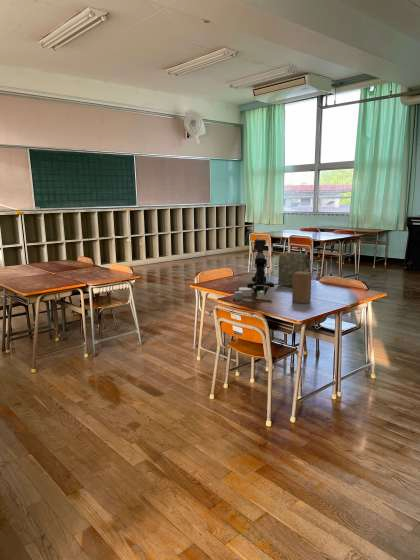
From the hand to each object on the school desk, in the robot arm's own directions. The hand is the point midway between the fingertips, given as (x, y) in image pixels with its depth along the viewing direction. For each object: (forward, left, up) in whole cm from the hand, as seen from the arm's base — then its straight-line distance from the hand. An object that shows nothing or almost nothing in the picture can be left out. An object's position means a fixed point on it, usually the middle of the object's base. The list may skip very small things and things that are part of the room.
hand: (259, 297), depth 289 cm
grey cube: (+15, -1, -1) cm, 15 cm away
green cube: (0, 0, -1) cm, 1 cm away
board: (+9, +6, -1) cm, 11 cm away
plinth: (+8, -12, -1) cm, 14 cm away
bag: (-37, -37, -1) cm, 52 cm away
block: (-25, +14, -1) cm, 29 cm away
